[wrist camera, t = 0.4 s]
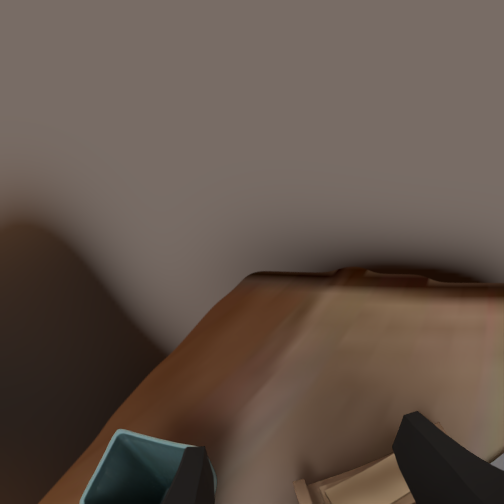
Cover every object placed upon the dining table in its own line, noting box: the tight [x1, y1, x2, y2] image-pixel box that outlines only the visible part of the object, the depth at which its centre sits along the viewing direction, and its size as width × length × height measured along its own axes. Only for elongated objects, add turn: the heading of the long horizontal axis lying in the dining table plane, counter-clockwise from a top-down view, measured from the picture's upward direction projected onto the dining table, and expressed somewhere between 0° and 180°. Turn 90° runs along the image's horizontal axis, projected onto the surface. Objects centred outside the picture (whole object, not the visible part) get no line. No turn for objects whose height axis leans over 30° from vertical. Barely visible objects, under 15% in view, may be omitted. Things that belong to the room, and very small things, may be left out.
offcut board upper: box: [325, 454, 411, 504], centre depth 19 cm, size 4×8×1 cm, turn 108°
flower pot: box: [79, 429, 217, 504], centre depth 21 cm, size 9×9×9 cm
